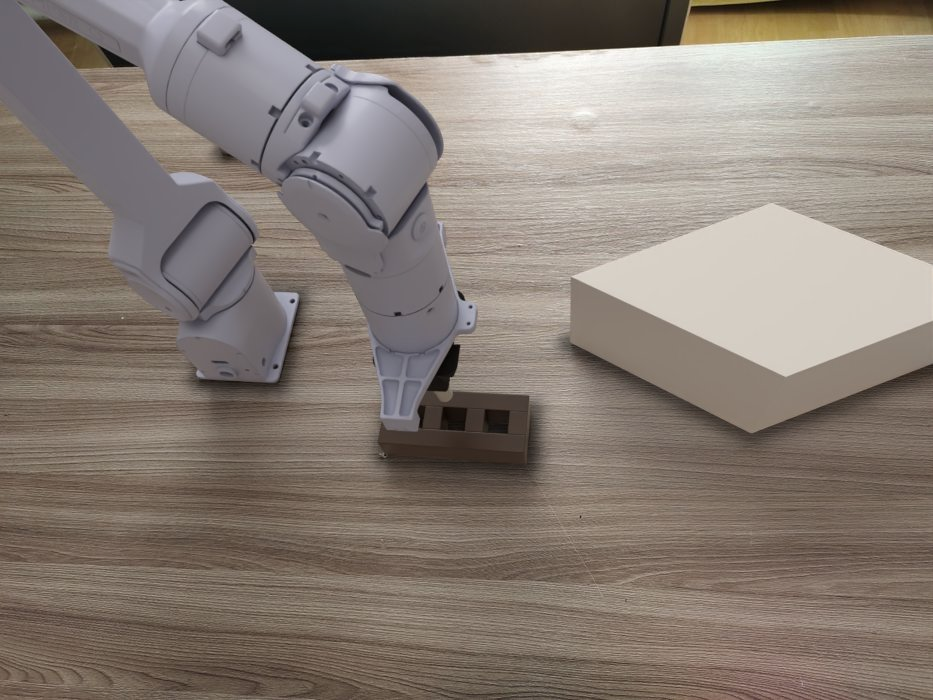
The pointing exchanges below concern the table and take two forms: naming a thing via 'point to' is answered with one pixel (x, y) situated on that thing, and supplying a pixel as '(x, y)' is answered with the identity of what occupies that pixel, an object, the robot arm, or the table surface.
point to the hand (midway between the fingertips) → (436, 376)
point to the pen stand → (474, 437)
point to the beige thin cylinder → (444, 395)
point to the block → (759, 315)
